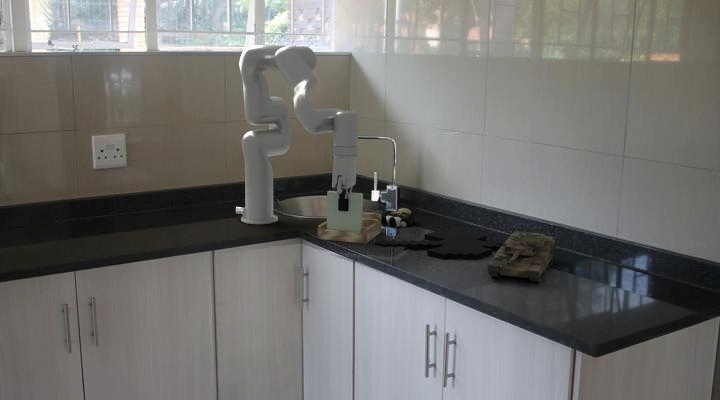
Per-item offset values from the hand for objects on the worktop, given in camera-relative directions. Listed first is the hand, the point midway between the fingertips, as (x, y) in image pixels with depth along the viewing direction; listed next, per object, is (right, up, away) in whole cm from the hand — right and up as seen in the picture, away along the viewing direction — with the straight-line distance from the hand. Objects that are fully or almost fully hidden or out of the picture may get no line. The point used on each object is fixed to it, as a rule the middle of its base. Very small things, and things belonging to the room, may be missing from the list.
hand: (344, 209), depth 253 cm
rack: (+1, -9, +7) cm, 12 cm away
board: (0, -8, +2) cm, 9 cm away
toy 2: (+49, -17, -28) cm, 59 cm away
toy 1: (+17, -6, +26) cm, 32 cm away
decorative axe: (+31, -12, -2) cm, 33 cm away
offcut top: (+2, -5, +6) cm, 8 cm away
